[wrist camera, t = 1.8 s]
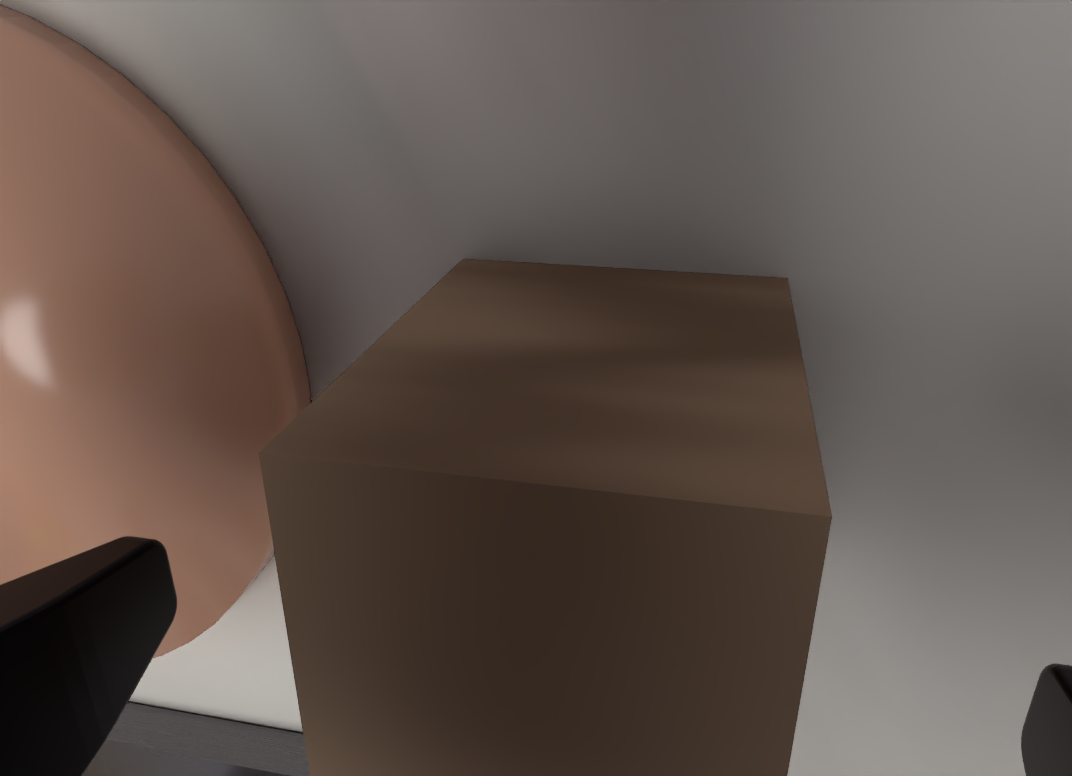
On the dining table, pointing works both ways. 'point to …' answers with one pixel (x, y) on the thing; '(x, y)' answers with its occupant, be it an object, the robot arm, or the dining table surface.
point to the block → (556, 530)
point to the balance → (195, 747)
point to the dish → (130, 334)
